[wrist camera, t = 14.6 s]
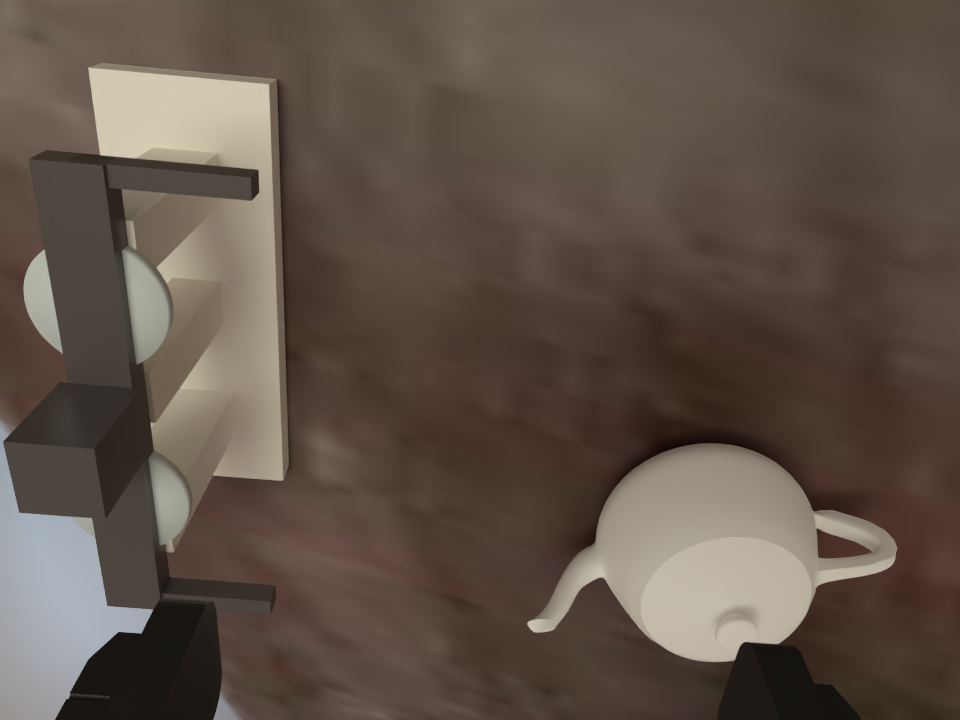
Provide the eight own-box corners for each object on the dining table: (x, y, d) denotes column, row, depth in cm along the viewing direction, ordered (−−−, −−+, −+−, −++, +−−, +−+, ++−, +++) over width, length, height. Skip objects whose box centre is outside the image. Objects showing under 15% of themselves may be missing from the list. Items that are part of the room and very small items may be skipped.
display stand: (102, 62, 37) (-45, 112, 27) (276, 78, 37) (196, 133, 27) (153, 454, 47) (60, 597, 37) (288, 465, 47) (233, 610, 37)
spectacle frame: (4, 146, 27) (-94, 189, 23) (258, 169, 27) (212, 217, 23) (87, 584, 37) (29, 677, 32) (275, 598, 37) (245, 692, 32)
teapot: (538, 604, 53) (548, 742, 44) (504, 451, 47) (507, 573, 38) (850, 562, 51) (928, 697, 42) (855, 396, 45) (945, 511, 36)
